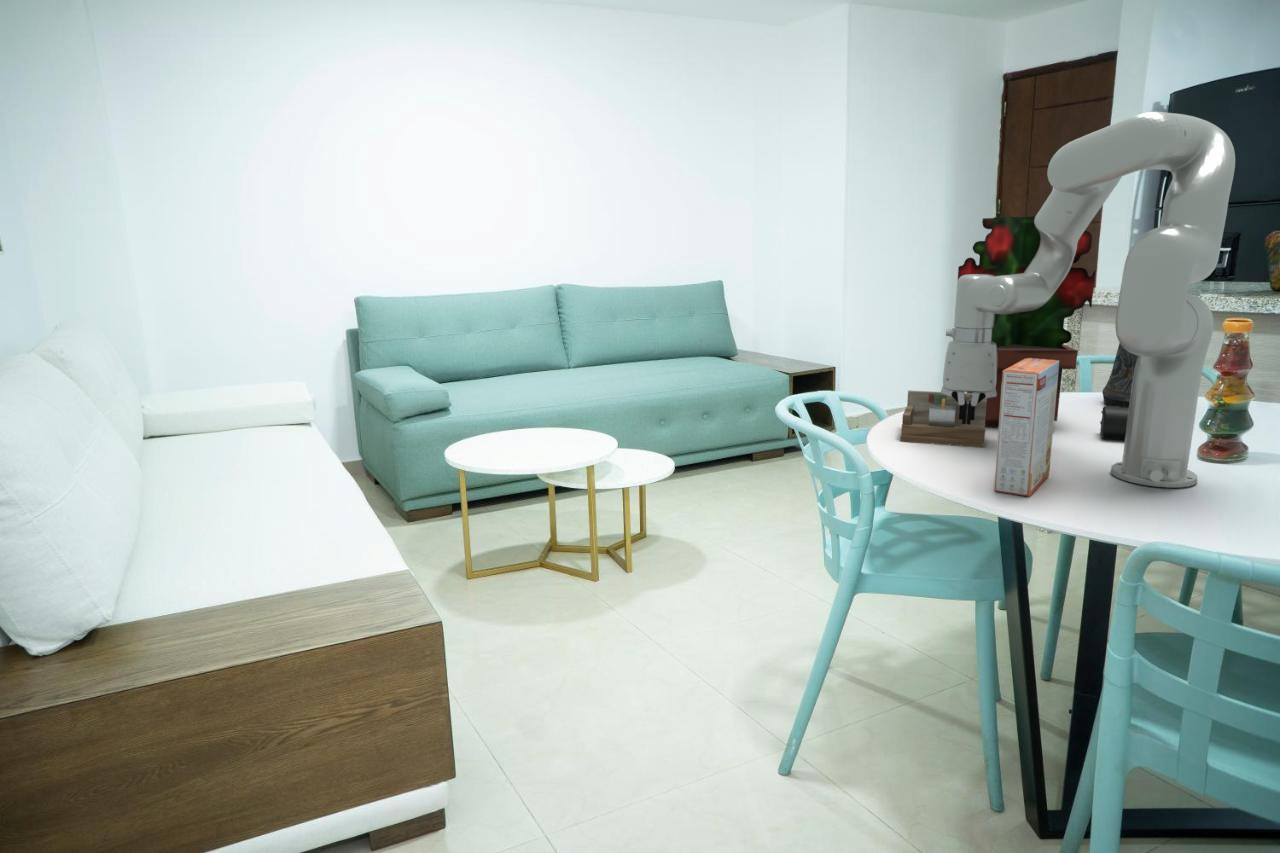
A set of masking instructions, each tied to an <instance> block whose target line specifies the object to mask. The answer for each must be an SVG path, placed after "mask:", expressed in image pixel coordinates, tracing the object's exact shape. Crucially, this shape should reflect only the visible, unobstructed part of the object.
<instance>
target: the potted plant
mask: <svg viewBox="0 0 1280 853" xmlns="http://www.w3.org/2000/svg"><path fill="white" fill-rule="evenodd" d="M1035 217H1036V216H1008V217H1007V216H1001V217H999V216H994V217H991V218H990V217H987V218H982V222H981V223H982V226H983V228H985V229H986V230H991V231H990V232H989V233H987V234H986V236H985V239H984V240H979V241H975V243H974V244H973V246H972V251H973V252H974V254H976V255H979V262H978V263H979V264H977V262H976V261H977V260H975V259H974V258H973V257H967V258H966V259H965V261H964V262H963V264H962V265H960V266H958V268H957V269H958V270H957V282H958V279H959V278H960V277H961V276H963V275H968V274H988V275H993V276H1002V275H1012V274H1022V273H1024V272H1025V270H1026V269H1027V267H1028V266H1029V265H1030V263H1031V262H1032V260H1033V259H1034V257H1035V255H1036V253H1037V251H1038V249H1039V246H1040V241H1041V237H1040V233H1039V231H1038V229H1037V228H1036V227H1035V224H1034V220H1035ZM1092 243H1093V235H1092V233H1091V232H1090V231H1087V230H1085V231H1084V232H1083V234H1082V235H1081V237H1080V238H1079V240H1078V243H1077V250H1076V253H1075V256H1074V260H1073V263H1072V265H1074V264H1076V263H1078V262H1079V260H1080V259H1081V257H1082V256H1083V255H1087V254H1088V253H1089V252H1090V251H1091V249H1092ZM1088 273H1089V272H1088V270H1087V269H1086V268H1083V267H1072V266H1071V268H1070V270H1069V272H1068V274H1067V276H1066V277H1065V279H1064V280H1063V281H1062V283H1061V284H1060V286H1059V287H1058V288H1057V290H1056V291H1055V293H1054V294H1053V295H1052V297H1051V298H1050V299H1049V300H1048V301H1047V302H1046V303H1045V304H1044V305H1043V306H1041V307H1040V308H1038V309H1036V310H1033V311H1027V312H1019V313H1014V314H1005V315H1003V314H995V320H994V331H993V342H994V343H996V345H997V355H998V363H997V383H996V392H997V395H996V397H991V398H987V405H986V417H985V426H986V427H991V426H999V416H1000V401H1001V386H1002V372H1003V370H1005V369H1007V368H1009V367H1011V366H1013V365H1014V364H1016V363H1018V362H1020V361H1022V360H1023V359H1026V358H1037V359H1046V360H1059V370H1058V382H1057V393H1056V403H1055V415H1054V422H1057V421H1058V415H1059V405H1060V397H1061V396H1060V395H1061V388H1062V387H1061V386H1062V374H1063V370H1076V369H1077V360H1078V351H1079V350H1077V349H1075V348H1073V347H1072V346H1071V347H1070V346H1068V345H1066V344H1068V343H1070V342H1071V340H1072V337H1073V336H1072V333H1071V332H1070V331H1069V330H1067V329H1065V327H1064V325H1065V319H1066V318H1070V317H1072V316H1073V315H1074V314H1075V311H1076V310H1079V309H1082V308H1083V307H1085V306H1084V305H1086V302H1088V305H1089V307H1090V308H1092V303H1093V296H1094V290H1095V289H1094V288H1095V280H1096V279H1095V278H1096V269H1094V270H1093V272H1092V274H1091V276H1089V274H1088ZM966 393H971V394H973V392H966Z"/></svg>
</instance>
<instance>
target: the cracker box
mask: <svg viewBox="0 0 1280 853" xmlns="http://www.w3.org/2000/svg"><path fill="white" fill-rule="evenodd" d="M1058 370H1059V360H1046V359H1037V358H1026V359H1023V360H1022V361H1020V362H1018V363H1016V364H1014V365H1013V366H1011V367H1009V368H1007V369H1005V370H1003V372H1002V386H1001V401H1000V416H999V427H998V428H997V430H998V433H997V446H996V459H995V477H994V484H993V485H994V489H993V490H994V492H997V493H1001V494H1010V495H1016V496H1022V497H1031V496H1032V494H1033V493H1034V492H1035V491H1036V490H1037V489H1038V488H1039V487H1040V486H1041V485H1042V484H1043V482H1044V481H1046V479H1047V478H1049V476H1050V471H1051V470H1050V469H1051V460H1052V448H1053V447H1052V446H1053V438H1054V436H1053V435H1054V424H1055V421H1054V415H1055V403H1056V393H1057V382H1058Z"/></svg>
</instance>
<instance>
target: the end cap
mask: <svg viewBox="0 0 1280 853" xmlns="http://www.w3.org/2000/svg"><path fill="white" fill-rule="evenodd" d="M1100 412H1101V420H1100V422H1099V424H1100V430H1099V435H1100V437H1101V436H1102V437H1101V438H1102V439H1107V438H1109V439H1110V440H1124V441H1125V436H1126V428H1127V420H1128V412H1129V408H1124V407H1120V406H1110V405H1109V406H1105V405H1104V406H1103V407H1102V410H1101V411H1100Z"/></svg>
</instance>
